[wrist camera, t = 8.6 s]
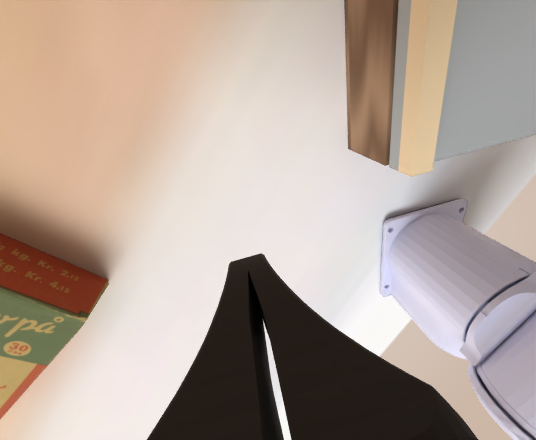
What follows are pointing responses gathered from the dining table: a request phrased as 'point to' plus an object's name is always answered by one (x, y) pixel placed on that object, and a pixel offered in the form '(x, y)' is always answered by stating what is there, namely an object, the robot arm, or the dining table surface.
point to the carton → (38, 312)
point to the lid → (461, 79)
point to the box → (370, 75)
